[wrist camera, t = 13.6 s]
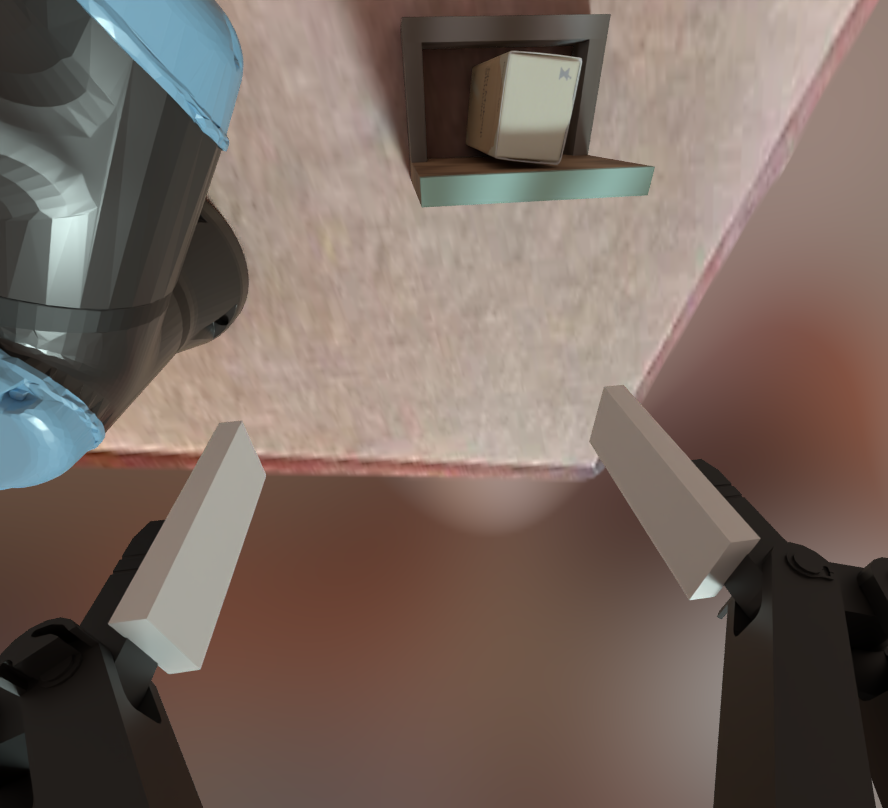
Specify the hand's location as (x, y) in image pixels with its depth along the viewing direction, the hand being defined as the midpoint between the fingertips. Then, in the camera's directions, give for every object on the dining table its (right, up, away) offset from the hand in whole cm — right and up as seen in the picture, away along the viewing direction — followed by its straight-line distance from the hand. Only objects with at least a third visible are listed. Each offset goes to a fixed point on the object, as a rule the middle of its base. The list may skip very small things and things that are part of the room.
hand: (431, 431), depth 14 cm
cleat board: (+4, +25, +16) cm, 30 cm away
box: (+4, +24, +16) cm, 30 cm away
